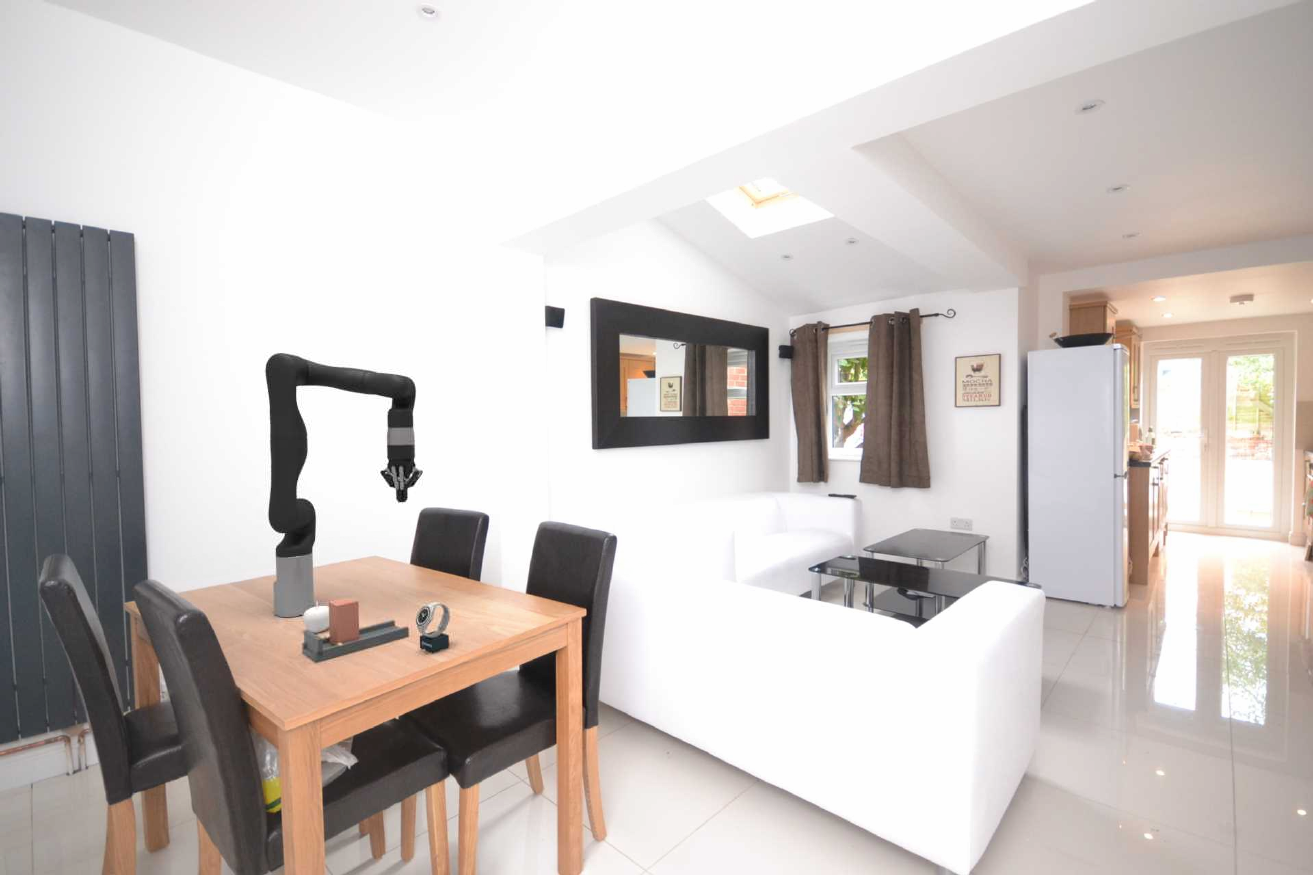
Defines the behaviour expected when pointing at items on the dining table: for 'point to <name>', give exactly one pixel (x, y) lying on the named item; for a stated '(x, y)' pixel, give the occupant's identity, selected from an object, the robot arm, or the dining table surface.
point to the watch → (436, 638)
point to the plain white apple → (316, 618)
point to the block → (343, 620)
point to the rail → (368, 637)
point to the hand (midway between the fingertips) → (402, 501)
